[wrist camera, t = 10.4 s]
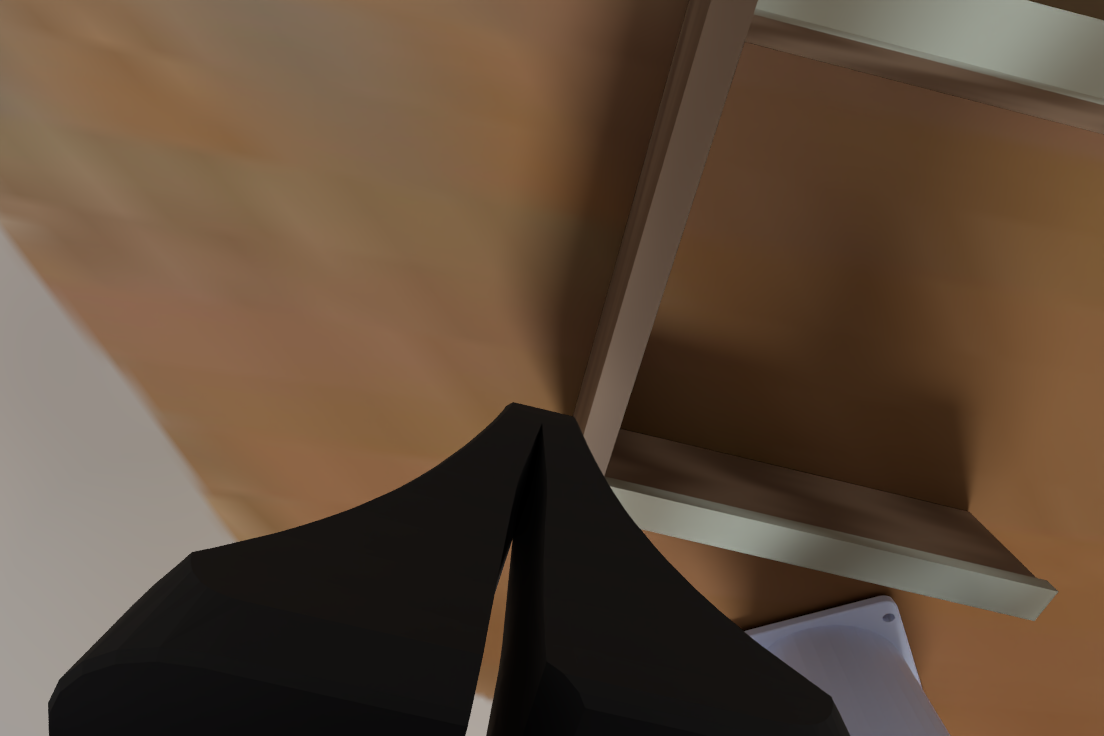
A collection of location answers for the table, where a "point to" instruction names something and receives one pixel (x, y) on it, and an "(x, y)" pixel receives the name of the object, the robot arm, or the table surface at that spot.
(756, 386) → the table surface
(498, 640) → the table surface
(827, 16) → the cold frame
